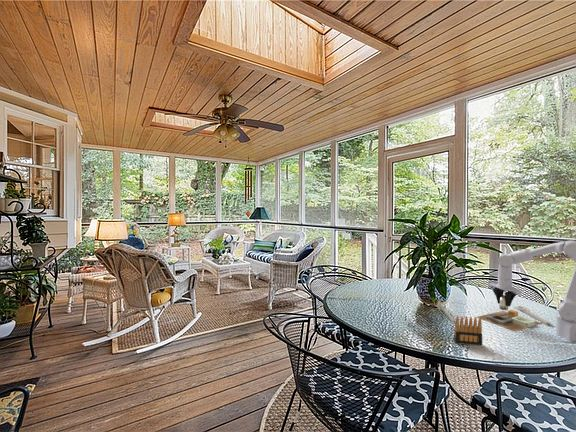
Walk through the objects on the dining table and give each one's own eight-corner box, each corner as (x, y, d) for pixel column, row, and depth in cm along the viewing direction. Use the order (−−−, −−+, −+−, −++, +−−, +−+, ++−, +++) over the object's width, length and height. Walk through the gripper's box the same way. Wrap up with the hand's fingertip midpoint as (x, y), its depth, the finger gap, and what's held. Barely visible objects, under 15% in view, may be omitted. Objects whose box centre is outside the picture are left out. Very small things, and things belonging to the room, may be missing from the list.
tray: (535, 325, 142) (535, 321, 142) (526, 327, 139) (526, 323, 139) (519, 319, 148) (519, 315, 148) (510, 321, 146) (511, 318, 146)
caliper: (437, 309, 166) (437, 298, 166) (439, 309, 166) (439, 298, 166) (453, 324, 146) (454, 312, 146) (456, 324, 146) (456, 312, 146)
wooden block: (517, 317, 151) (518, 311, 150) (505, 320, 146) (505, 314, 146) (511, 315, 153) (511, 309, 153) (499, 318, 149) (499, 312, 149)
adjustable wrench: (553, 327, 143) (553, 324, 143) (538, 326, 144) (538, 323, 144) (523, 309, 167) (523, 306, 167) (511, 308, 168) (511, 305, 168)
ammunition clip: (480, 343, 126) (481, 316, 125) (482, 345, 124) (483, 318, 123) (453, 340, 128) (454, 314, 127) (455, 342, 126) (455, 316, 126)
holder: (542, 325, 144) (543, 320, 144) (514, 333, 135) (514, 328, 135) (503, 312, 161) (503, 307, 161) (475, 318, 152) (475, 314, 152)
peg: (509, 310, 144) (510, 297, 144) (501, 310, 145) (502, 296, 144) (505, 307, 147) (506, 294, 147) (497, 307, 148) (498, 294, 148)
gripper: (526, 281, 140) (525, 308, 140) (496, 274, 153) (495, 299, 154) (515, 282, 137) (514, 310, 138) (486, 275, 151) (485, 300, 152)
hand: (504, 304), depth 146 cm, fingers closed on peg, 4 cm apart
